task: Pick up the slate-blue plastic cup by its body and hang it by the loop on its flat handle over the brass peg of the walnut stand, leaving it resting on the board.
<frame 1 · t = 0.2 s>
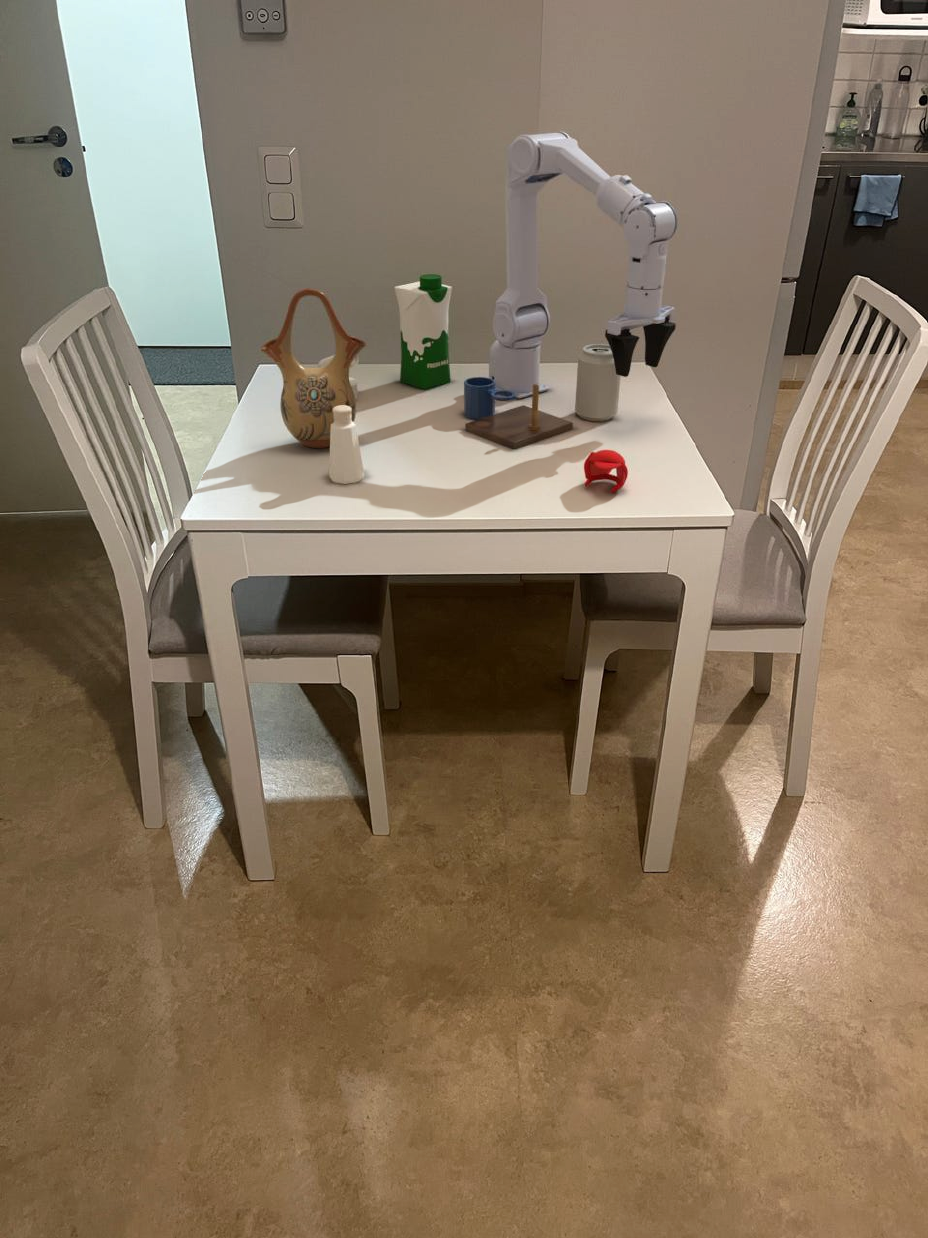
hand: (636, 370, 158), 10 cm above the table, tool pointing down, fingers open, 7 cm apart
ceramic vessel: (321, 445, 158), on the table
can: (595, 416, 169), on the table
red hollow rounded piece: (603, 489, 142), on the table
pepper shaker: (347, 478, 146), on the table
cup: (479, 414, 170), on the table
peg stand: (519, 429, 163), on the table
milk carton: (425, 382, 186), on the table
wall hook: (337, 397, 178), on the table
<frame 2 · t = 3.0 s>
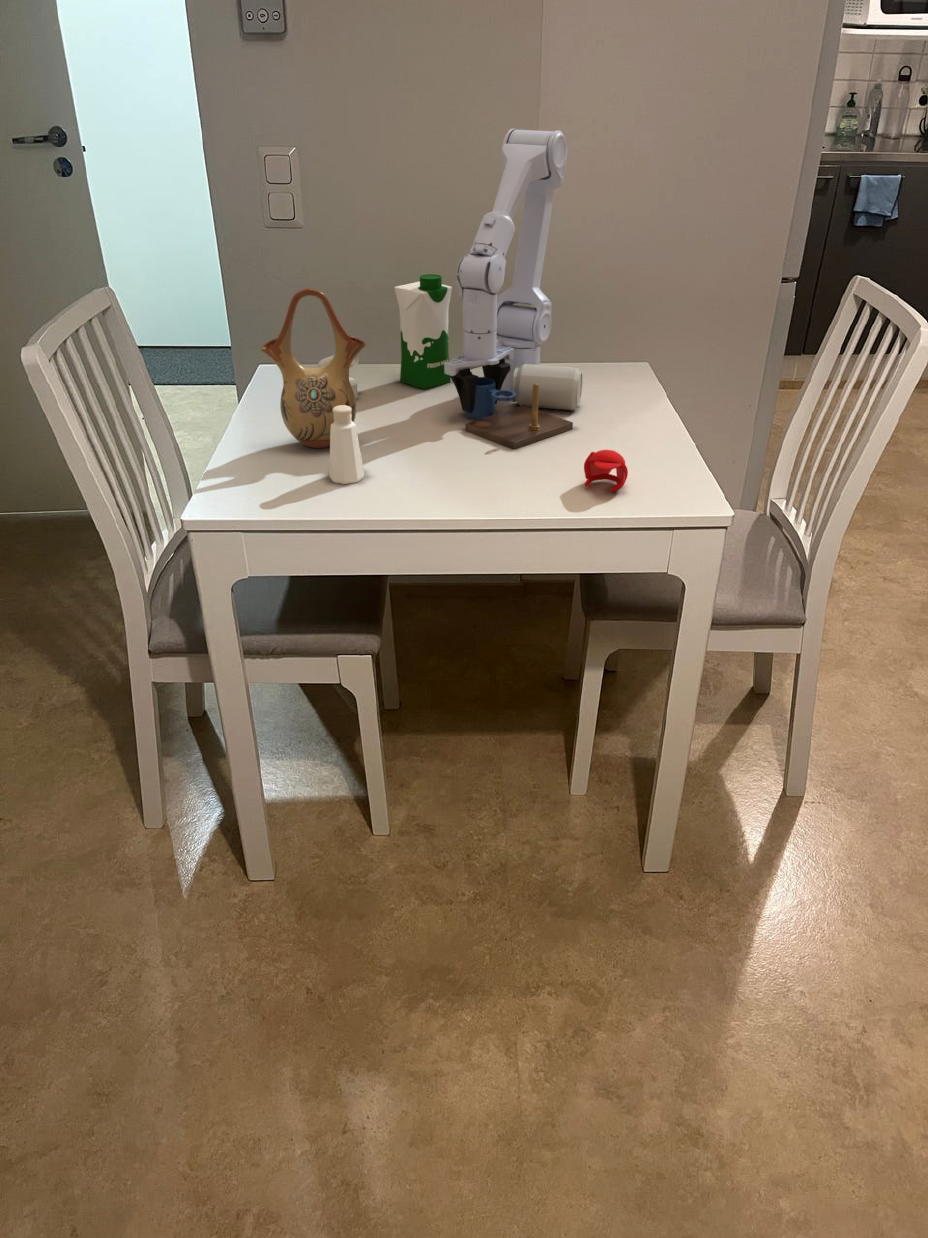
hand: (479, 407, 169), 1 cm above the table, tool pointing down, fingers closed on cup, 5 cm apart
can: (581, 389, 170), point 4 cm above the table
cup: (479, 414, 170), on the table, touching gripper
everything else where it was.
when the fingers open (3 cm above the table, at t = 7.5 s): cup stays where it is, resting on peg stand.
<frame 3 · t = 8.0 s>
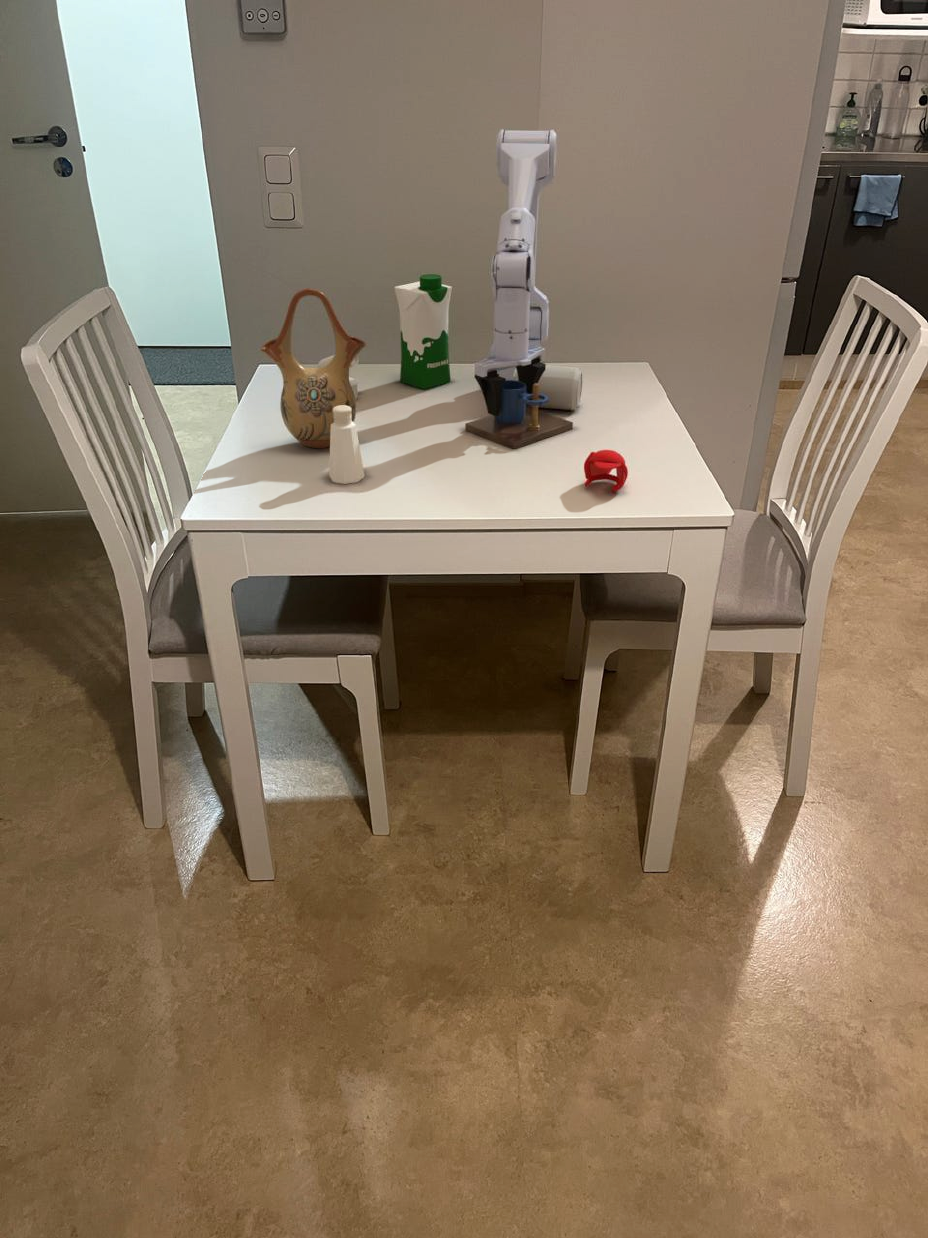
hand: (509, 409, 163), 3 cm above the table, tool pointing down, fingers open, 7 cm apart
cup: (509, 419, 164), point 1 cm above the table, touching peg stand
everything else where it was.
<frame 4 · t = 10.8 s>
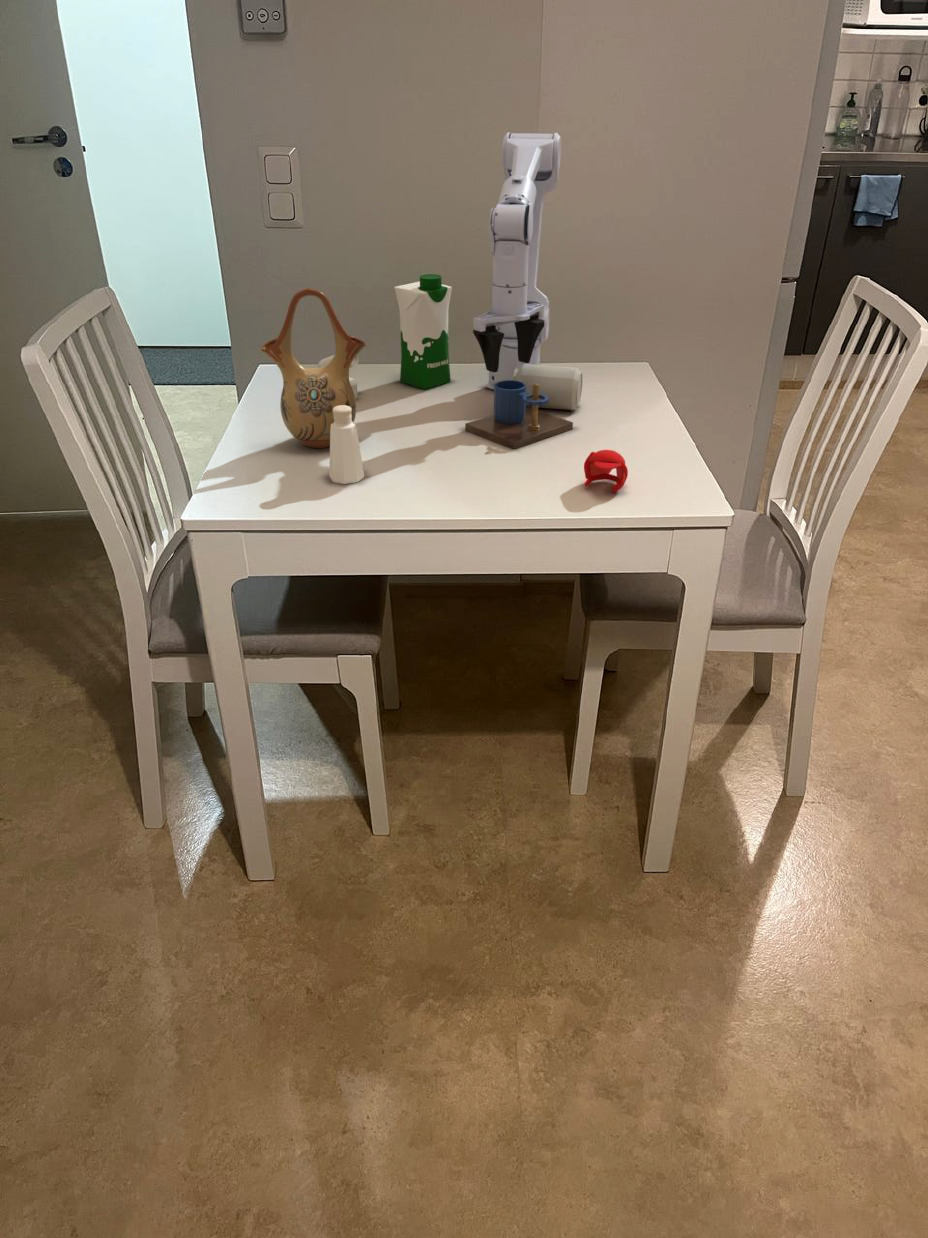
hand: (508, 366, 163), 9 cm above the table, tool pointing down, fingers open, 7 cm apart
nothing on the table moved.
at the end: cup 0.0 cm from the target spot on the peg stand, point 1.2 cm above the peg stand's base; cup tilted 0°; the gripper is holding nothing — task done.
